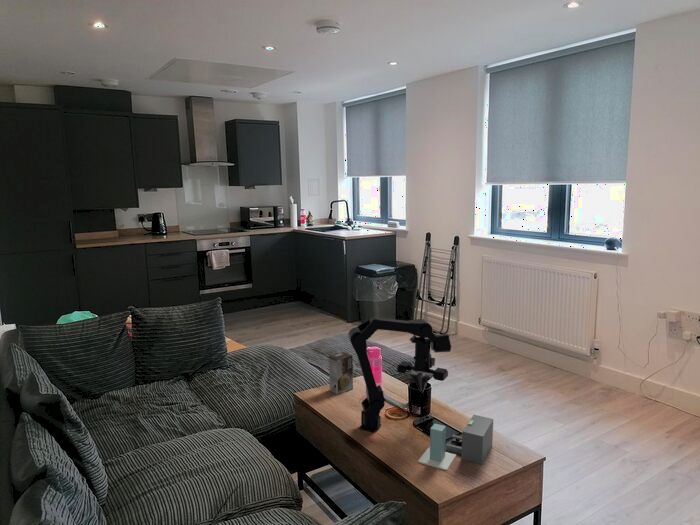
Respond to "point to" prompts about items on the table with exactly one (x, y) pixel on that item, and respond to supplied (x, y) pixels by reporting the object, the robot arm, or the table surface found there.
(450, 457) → the mat
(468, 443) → the charging dock
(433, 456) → the key block
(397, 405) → the adjustable wrench
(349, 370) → the coffee box
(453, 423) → the table surface
